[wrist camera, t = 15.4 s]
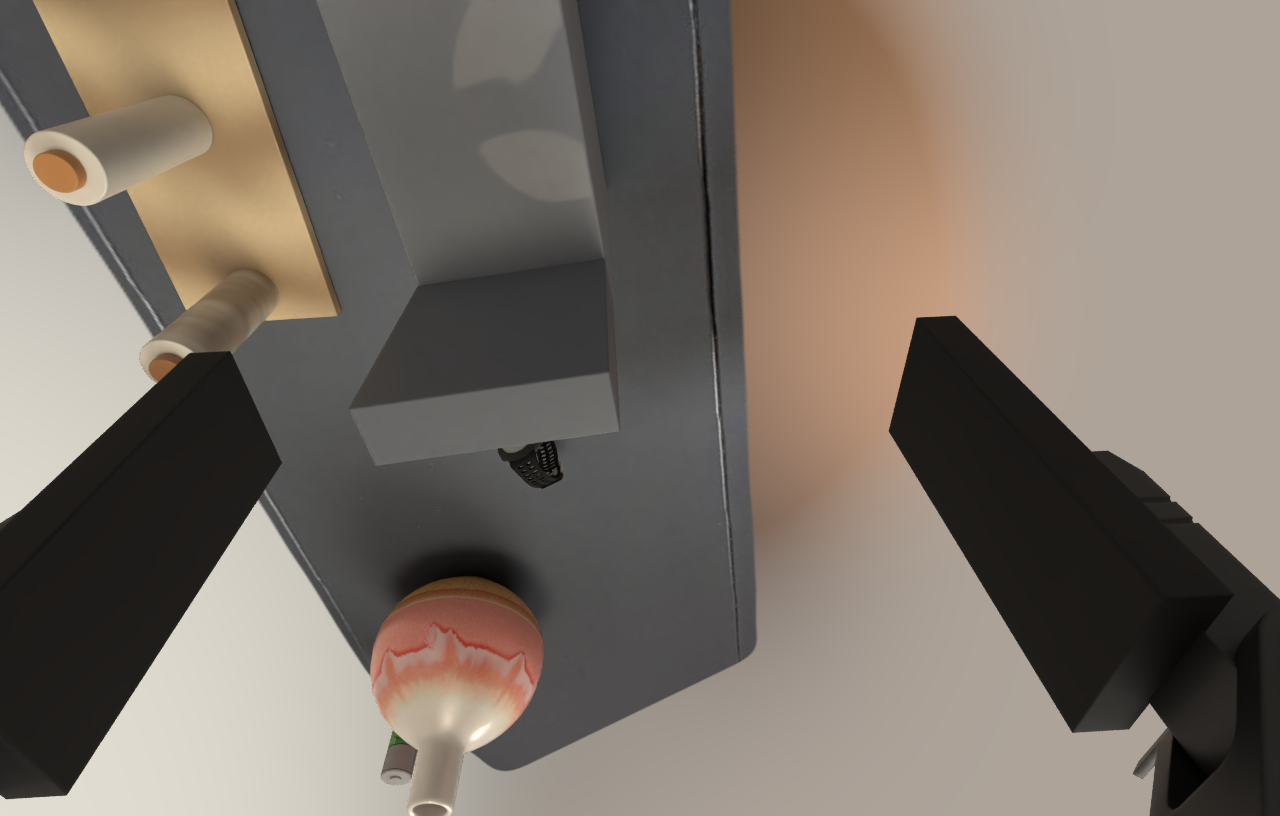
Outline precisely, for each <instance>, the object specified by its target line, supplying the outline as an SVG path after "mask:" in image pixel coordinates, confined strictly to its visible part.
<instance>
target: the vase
mask: <svg viewBox="0 0 1280 816" xmlns="http://www.w3.org/2000/svg"><path fill="white" fill-rule="evenodd" d="M543 653H544V648H543V640H542V633H541V630H540V627H539V625H538V622H537V620H536V618H535V616H534V614H533V613H532V611H531V610H530V609H529V607H528V606H527V605H526V604H525V603H524V602H523V600H522V599H521V598H520V597H519V596H517V595H516V594H515V593H513V592H512V591H511V590H509V589H507V588H505V587H504V586H502V585H500V584H498V583H496V582H494V581H491V580H489V579H486V578H482V577H477V576H457V577H452V578H446V579H442V580H438V581H434V582H431V583H429V584H426V585H424V586H422V587H420V588H418V589H417V590H415V591H413V592H412V593H410V594H409V595H407V596H406V597H405V598H404V599H402V600H401V601H400V602H399V603H398V604H397V605H396V606H395V607H394V608H393V609H392V611H391V612H390V613H389V614H388V616H387V617H386V618H385V620H384V622H383V624H382V625H381V628H380V630H379V632H378V634H377V637H376V639H375V643H374V647H373V652H372V659H371V672H370V675H371V683H372V691H373V694H374V698H375V701H376V704H377V706H378V708H379V710H380V712H381V714H382V716H383V718H384V719H385V720H386V722H387V723H388V724H389V726H390V727H391V728H392V730H393V731H394V732H395V733H396V734H397V735H398V736H400V737H401V738H402V739H403V740H404V741H405V742H407V743H408V744H409V745H411V746H412V747H414V748H415V749H416V750H418V754H417V759H416V764H415V769H414V774H413V779H412V784H411V788H410V794H409V799H408V804H407V812H408V814H409V815H410V816H450V815H451V813H452V811H453V808H454V803H455V798H456V793H457V788H458V783H459V778H460V772H461V767H462V762H463V757H464V754H466V753H468V752H471V751H473V750H475V749H477V748H479V747H481V746H483V745H485V744H487V743H489V742H490V741H492V740H494V739H495V738H497V737H498V736H500V735H501V734H502V733H503V732H505V731H506V730H507V729H508V728H509V727H510V726H511V725H512V724H513V723H514V722H515V721H516V720H517V719H518V718H519V717H520V715H521V714H522V713H523V711H524V710H525V708H526V707H527V706H528V704H529V703H530V701H531V699H532V697H533V695H534V692H535V690H536V687H537V684H538V682H539V679H540V675H541V671H542V663H543Z"/></svg>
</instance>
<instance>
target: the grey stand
mask: <svg viewBox="0 0 1280 816" xmlns="http://www.w3.org/2000/svg"><path fill="white" fill-rule="evenodd" d="M316 2H317V4H318V7H319V10H320V13H321V16H322V18H323V21H324V24H325V27H326V30H327V32H328V35H329V38H330V41H331V44H332V46H333V49H334V52H335V55H336V58H337V60H338V63H339V66H340V69H341V72H342V74H343V77H344V80H345V83H346V86H347V88H348V91H349V94H350V97H351V100H352V102H353V105H354V108H355V111H356V114H357V116H358V119H359V122H360V125H361V128H362V130H363V133H364V136H365V139H366V142H367V144H368V147H369V150H370V153H371V156H372V158H373V161H374V164H375V167H376V169H377V172H378V175H379V178H380V181H381V183H382V186H383V189H384V192H385V195H386V197H387V200H388V203H389V206H390V209H391V211H392V214H393V217H394V220H395V223H396V225H397V228H398V231H399V234H400V237H401V239H402V242H403V245H404V248H405V251H406V253H407V256H408V259H409V262H410V265H411V267H412V270H413V273H414V276H415V279H416V281H417V284H418V287H417V288H416V290H415V292H414V294H413V295H412V297H411V299H410V301H409V303H408V304H407V306H406V308H405V310H404V311H403V313H402V315H401V317H400V318H399V320H398V322H397V324H396V326H395V327H394V329H393V331H392V333H391V334H390V336H389V338H388V340H387V342H386V343H385V345H384V347H383V349H382V350H381V352H380V354H379V356H378V358H377V359H376V361H375V363H374V365H373V366H372V368H371V370H370V372H369V374H368V375H367V377H366V379H365V381H364V382H363V384H362V386H361V388H360V390H359V391H358V393H357V395H356V397H355V398H354V400H353V402H352V404H351V405H350V407H349V411H350V413H351V416H352V418H353V420H354V422H355V424H356V426H357V428H358V430H359V432H360V434H361V436H362V438H363V440H364V442H365V445H366V447H367V449H368V451H369V453H370V455H371V457H372V459H373V461H374V463H375V465H384V464H391V463H398V462H405V461H412V460H419V459H426V458H433V457H440V456H448V455H455V454H462V453H469V452H476V451H483V450H490V449H497V448H504V447H511V446H518V445H525V444H532V443H539V442H546V441H553V440H560V439H568V438H575V437H582V436H589V435H596V434H603V433H610V432H617V431H620V415H619V398H618V380H617V362H616V344H615V326H614V309H613V293H612V275H611V257H610V239H609V221H608V203H607V187H606V181H605V175H604V168H603V162H602V156H601V149H600V143H599V137H598V131H597V124H596V118H595V112H594V105H593V99H592V93H591V87H590V80H589V74H588V68H587V61H586V55H585V49H584V43H583V36H582V30H581V24H580V17H579V11H578V5H577V0H316Z"/></svg>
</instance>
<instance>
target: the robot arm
mask: <svg viewBox="0 0 1280 816" xmlns="http://www.w3.org/2000/svg"><path fill="white" fill-rule="evenodd" d="M889 432H890V434H891V436H892V437H893V439H894V441H895V442H896V444H897V446H898V447H899V449H900V451H901V452H902V454H903V455H904V457H905V459H906V460H907V462H908V464H909V465H910V467H911V469H912V470H913V472H914V473H915V475H916V477H917V478H918V480H919V482H920V483H921V485H922V487H923V488H924V490H925V491H926V493H927V495H928V497H929V498H930V500H931V501H932V503H933V505H934V506H935V508H936V509H937V511H938V513H939V514H940V516H941V518H942V519H943V521H944V523H945V524H946V526H947V528H948V529H949V531H950V533H951V534H952V536H953V538H954V539H955V541H956V542H957V544H958V546H959V547H960V549H961V551H962V552H963V554H964V555H965V557H966V559H967V560H968V562H969V564H970V565H971V567H972V569H973V570H974V572H975V573H976V575H977V577H978V578H979V580H980V582H981V583H982V585H983V587H984V588H985V590H986V592H987V593H988V595H989V596H990V598H991V600H992V601H993V603H994V605H995V606H996V608H997V610H998V611H999V613H1000V615H1001V616H1002V618H1003V620H1004V621H1005V623H1006V625H1007V626H1008V628H1009V629H1010V631H1011V633H1012V634H1013V636H1014V637H1015V639H1016V641H1017V643H1018V644H1019V646H1020V647H1021V649H1022V651H1023V652H1024V654H1025V656H1026V657H1027V659H1028V661H1029V662H1030V664H1031V665H1032V667H1033V669H1034V670H1035V672H1036V674H1037V675H1038V677H1039V679H1040V680H1041V682H1042V683H1043V685H1044V687H1045V688H1046V690H1047V692H1048V693H1049V695H1050V697H1051V698H1052V700H1053V702H1054V703H1055V705H1056V707H1057V708H1058V710H1059V711H1060V713H1061V715H1062V716H1063V718H1064V720H1065V721H1066V723H1067V725H1068V726H1069V728H1070V730H1071V731H1072V733H1076V732H1091V731H1108V730H1124V729H1130V727H1131V726H1132V725H1133V723H1134V722H1135V721H1136V720H1137V719H1138V717H1139V716H1140V715H1141V713H1142V712H1143V711H1144V710H1145V708H1146V707H1147V706H1148V704H1149V703H1150V704H1151V706H1152V707H1153V708H1154V710H1155V711H1156V712H1157V714H1158V715H1159V716H1160V718H1161V719H1162V720H1163V722H1164V723H1165V724H1166V726H1167V727H1168V728H1167V729H1166V730H1165V731H1164V732H1163V734H1162V735H1161V736H1160V737H1159V738H1158V739H1157V741H1156V742H1155V743H1154V744H1153V745H1152V747H1151V748H1150V749H1149V750H1148V751H1147V752H1146V754H1145V755H1144V756H1143V757H1142V758H1141V760H1140V761H1139V762H1138V764H1137V766H1136V768H1135V770H1134V772H1133V774H1134V775H1136V776H1137V777H1139V778H1141V779H1143V778H1144V777H1145V776H1146V775H1147V774H1148V772H1149V771H1150V770H1151V769H1152V768H1153V767H1154V766H1155V772H1154V782H1153V791H1152V800H1151V808H1150V816H1280V599H1279V598H1278V597H1277V596H1276V595H1275V594H1273V593H1272V592H1271V591H1270V590H1269V589H1268V588H1267V587H1266V586H1265V585H1264V584H1263V583H1262V582H1261V581H1260V580H1259V579H1258V578H1256V577H1255V576H1254V575H1253V574H1252V573H1251V572H1250V571H1249V570H1248V569H1247V568H1246V567H1245V566H1244V565H1243V564H1242V563H1240V562H1239V561H1238V560H1237V559H1236V558H1235V557H1234V556H1233V555H1232V554H1231V553H1230V552H1229V551H1228V550H1227V549H1225V548H1224V547H1223V546H1222V545H1221V544H1220V543H1219V542H1218V541H1217V540H1216V539H1215V538H1214V537H1213V536H1212V535H1211V534H1210V533H1209V532H1207V531H1206V530H1205V529H1204V528H1203V527H1202V526H1201V525H1200V524H1199V523H1193V521H1192V518H1193V517H1192V516H1190V515H1189V514H1188V513H1187V512H1186V511H1185V510H1184V509H1183V508H1182V507H1181V506H1180V505H1179V504H1178V503H1177V502H1171V500H1170V496H1169V495H1168V494H1167V493H1166V492H1165V491H1164V490H1163V489H1162V488H1161V487H1160V486H1159V485H1157V484H1156V483H1155V482H1154V481H1153V480H1152V479H1151V478H1150V477H1149V476H1148V475H1147V474H1146V473H1145V472H1144V471H1142V470H1140V469H1138V468H1137V467H1135V466H1133V465H1132V464H1130V463H1128V462H1126V461H1125V460H1123V459H1121V458H1120V457H1118V456H1116V455H1114V454H1113V453H1111V452H1109V451H1094V452H1091V451H1090V450H1089V449H1088V448H1087V447H1086V446H1085V445H1084V444H1083V443H1082V442H1081V441H1080V440H1079V439H1078V438H1077V437H1076V436H1075V435H1074V434H1073V433H1072V432H1071V431H1070V430H1069V429H1068V428H1067V427H1066V426H1065V425H1064V424H1063V423H1062V422H1061V421H1060V420H1059V419H1058V418H1057V417H1056V416H1055V415H1054V414H1053V413H1052V412H1051V411H1050V410H1049V409H1048V408H1047V407H1046V406H1045V405H1044V404H1043V403H1042V402H1041V401H1040V400H1039V399H1038V398H1037V397H1036V396H1035V395H1034V394H1033V393H1032V392H1031V391H1030V390H1029V389H1028V388H1027V387H1026V386H1025V385H1024V384H1023V383H1022V382H1021V381H1020V380H1019V379H1018V378H1017V377H1016V376H1015V375H1014V374H1013V373H1012V372H1011V371H1010V370H1009V369H1008V368H1007V367H1006V366H1005V365H1004V364H1003V363H1002V362H1001V361H1000V360H999V359H998V358H997V357H996V356H995V355H994V354H993V353H992V352H991V351H990V350H989V349H988V348H987V347H986V346H985V345H984V344H983V343H982V342H981V341H980V340H979V339H978V338H977V337H976V336H975V335H974V334H973V333H972V332H971V331H970V330H969V329H968V328H967V327H966V326H965V325H964V324H963V323H962V322H961V321H960V320H959V319H958V318H957V317H956V316H942V317H921V318H917V319H916V322H915V326H914V330H913V335H912V339H911V343H910V347H909V351H908V355H907V359H906V364H905V367H904V371H903V375H902V380H901V383H900V388H899V392H898V396H897V400H896V404H895V408H894V413H893V416H892V420H891V424H890V428H889ZM281 464H282V462H281V460H280V458H279V456H278V453H277V451H276V449H275V447H274V445H273V442H272V440H271V438H270V436H269V434H268V432H267V429H266V427H265V425H264V423H263V421H262V419H261V416H260V414H259V412H258V410H257V408H256V406H255V403H254V401H253V399H252V397H251V395H250V393H249V390H248V388H247V386H246V384H245V382H244V380H243V377H242V375H241V373H240V371H239V369H238V367H237V364H236V362H235V360H234V358H233V356H232V354H231V351H219V352H198V353H189V354H188V355H187V356H185V357H184V358H183V359H182V360H181V361H180V362H179V363H178V364H177V365H176V366H175V367H174V368H173V369H172V370H171V371H169V372H168V373H167V374H166V375H165V376H164V377H163V378H162V379H161V380H160V381H159V382H158V383H157V384H156V385H154V386H153V387H152V388H151V389H150V390H149V391H148V392H147V393H146V394H145V395H144V396H143V397H142V398H141V399H140V400H138V402H136V403H135V404H134V405H133V406H132V407H131V408H130V409H129V410H128V411H127V412H126V413H125V414H123V415H122V416H121V417H120V418H119V419H118V420H117V421H116V422H115V423H114V424H113V425H112V426H111V427H110V428H108V429H107V430H106V432H104V433H103V434H102V435H101V436H100V437H99V438H98V439H97V440H96V441H95V442H94V443H92V444H91V445H90V446H89V447H88V448H87V449H86V450H85V451H84V452H83V453H82V454H81V455H80V456H79V457H77V458H76V459H75V460H74V461H73V462H72V463H71V464H70V465H69V466H68V467H67V468H66V469H65V470H64V471H63V472H61V473H60V474H59V476H57V477H56V478H55V479H54V480H53V481H52V482H51V483H50V484H49V485H48V486H46V488H44V489H43V490H42V491H41V492H40V493H39V494H38V495H37V496H36V497H35V498H34V499H33V500H32V501H30V502H29V503H28V504H27V505H26V506H25V507H24V508H23V509H22V510H21V511H19V512H17V513H16V514H14V515H13V516H11V517H10V518H8V519H6V520H5V521H3V522H2V523H0V795H1V796H2V797H4V798H5V799H16V798H32V797H49V796H65V795H67V794H68V793H69V791H70V790H71V788H72V786H73V785H74V783H75V782H76V780H77V779H78V777H79V776H80V774H81V773H82V771H83V769H84V768H85V766H86V765H87V763H88V762H89V760H90V759H91V757H92V756H93V754H94V752H95V750H96V749H97V748H98V746H99V745H100V743H101V742H102V740H103V739H104V737H105V735H106V734H107V732H108V731H109V729H110V728H111V726H112V725H113V723H114V722H115V720H116V718H117V717H118V715H119V714H120V712H121V711H122V709H123V708H124V706H125V704H126V703H127V701H128V700H129V698H130V697H131V695H132V694H133V692H134V691H135V689H136V688H137V686H138V684H139V683H140V681H141V680H142V678H143V677H144V675H145V674H146V672H147V671H148V669H149V667H150V666H151V664H152V663H153V661H154V660H155V658H156V656H157V655H158V653H159V652H160V650H161V649H162V647H163V646H164V644H165V643H166V641H167V640H168V638H169V637H170V635H171V633H172V632H173V630H174V629H175V627H176V626H177V624H178V623H179V621H180V619H181V618H182V616H183V615H184V613H185V612H186V610H187V609H188V607H189V606H190V604H191V602H192V601H193V599H194V598H195V596H196V595H197V593H198V592H199V590H200V589H201V587H202V586H203V584H204V582H205V581H206V579H207V578H208V576H209V575H210V573H211V572H212V570H213V569H214V567H215V566H216V564H217V562H218V561H219V559H220V558H221V556H222V555H223V553H224V552H225V550H226V549H227V547H228V545H229V544H230V542H231V541H232V539H233V538H234V536H235V534H236V533H237V531H238V530H239V528H240V527H241V525H242V524H243V522H244V521H245V519H246V518H247V516H248V515H249V513H250V511H251V510H252V508H253V507H254V505H255V504H256V502H257V501H258V499H259V498H260V496H261V494H262V493H263V491H264V490H265V488H266V487H267V485H268V484H269V482H270V481H271V479H272V477H273V476H274V474H275V473H276V471H277V470H278V468H279V467H280V465H281Z"/></svg>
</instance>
